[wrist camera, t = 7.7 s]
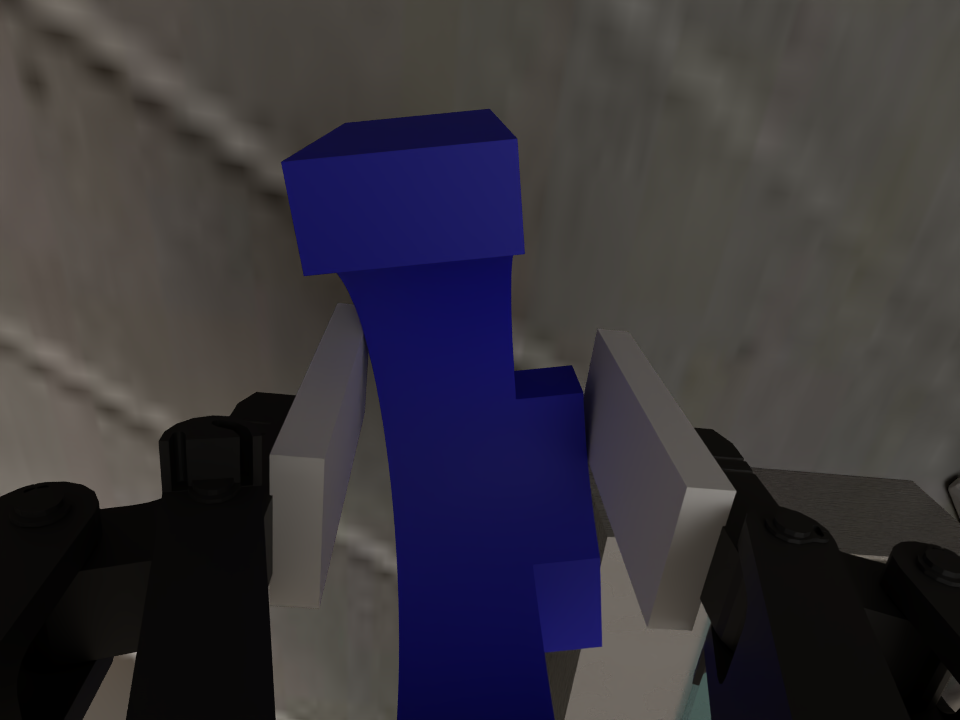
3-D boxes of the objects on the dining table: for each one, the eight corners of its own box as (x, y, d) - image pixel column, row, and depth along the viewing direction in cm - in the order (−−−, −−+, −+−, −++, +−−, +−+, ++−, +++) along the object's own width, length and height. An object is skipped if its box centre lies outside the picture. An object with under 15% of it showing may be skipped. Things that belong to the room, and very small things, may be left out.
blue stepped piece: (579, 562, 19) (634, 765, 14) (418, 578, 19) (406, 789, 13) (561, 101, 14) (634, 127, 9) (344, 122, 14) (281, 161, 9)
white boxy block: (534, 674, 43) (555, 820, 35) (579, 453, 37) (618, 567, 28) (822, 689, 44) (908, 832, 36) (912, 481, 38) (1040, 595, 30)
